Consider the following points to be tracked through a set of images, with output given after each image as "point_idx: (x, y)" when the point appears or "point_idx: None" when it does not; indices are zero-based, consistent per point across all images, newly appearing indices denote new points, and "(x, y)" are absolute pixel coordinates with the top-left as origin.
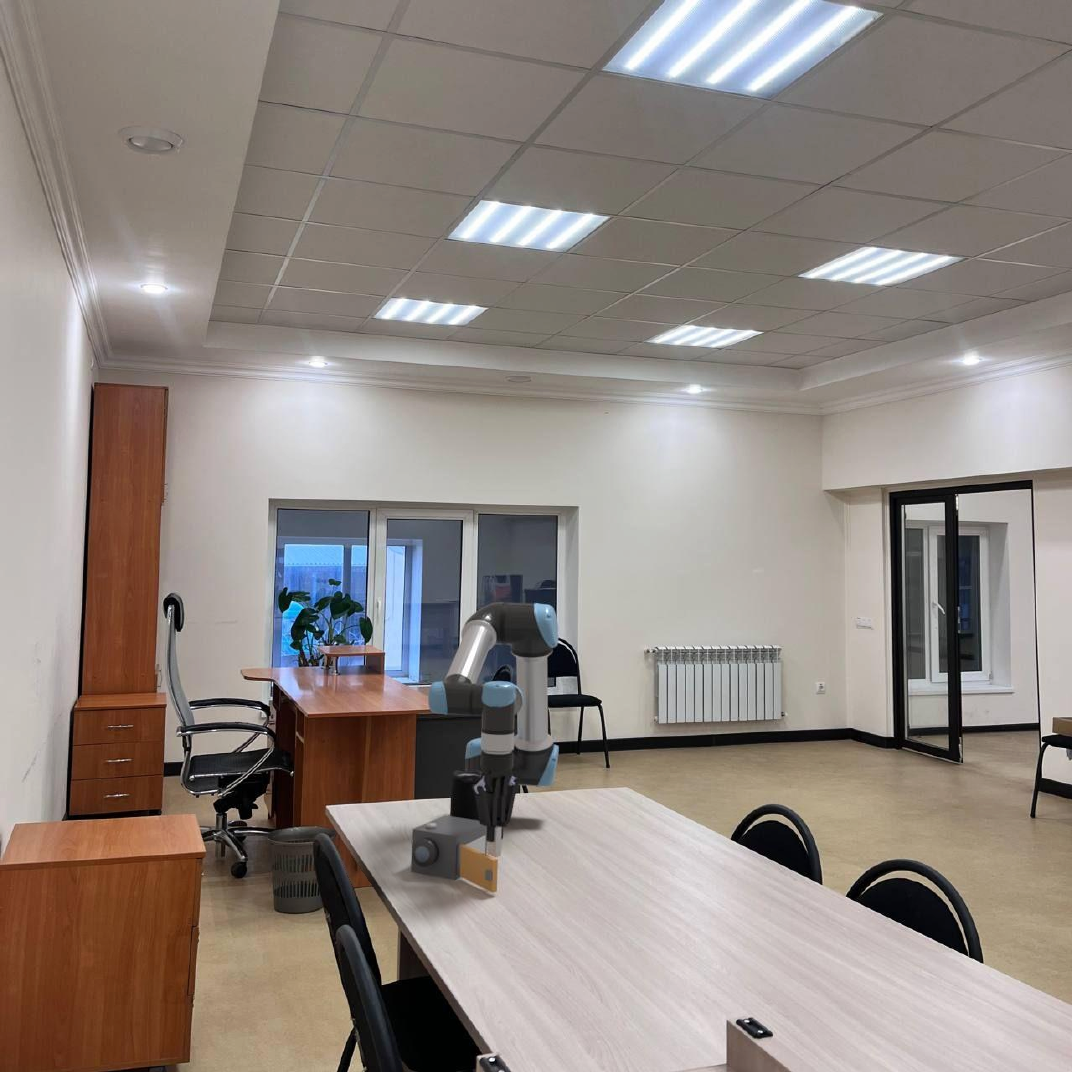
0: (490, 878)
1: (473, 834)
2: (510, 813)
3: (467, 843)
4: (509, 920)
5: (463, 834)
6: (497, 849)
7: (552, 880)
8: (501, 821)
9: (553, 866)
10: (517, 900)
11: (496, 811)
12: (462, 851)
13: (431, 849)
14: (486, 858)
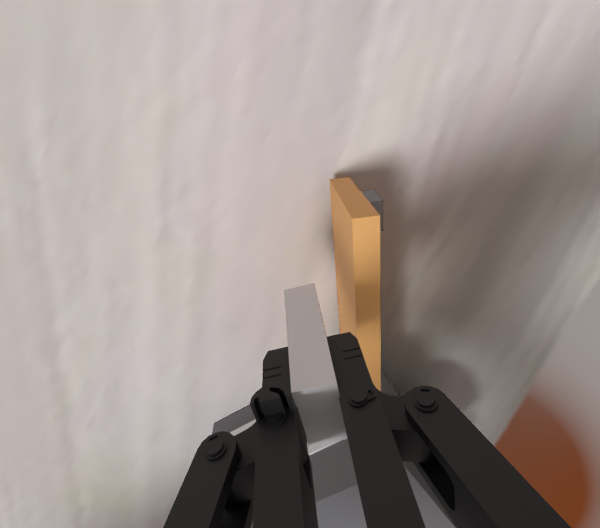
0: (369, 193)
1: None
2: (191, 495)
3: (314, 454)
4: None
5: (350, 482)
6: (308, 303)
7: (62, 233)
8: (292, 428)
9: (15, 345)
10: (281, 97)
11: (368, 508)
12: None
13: None
14: (379, 266)
